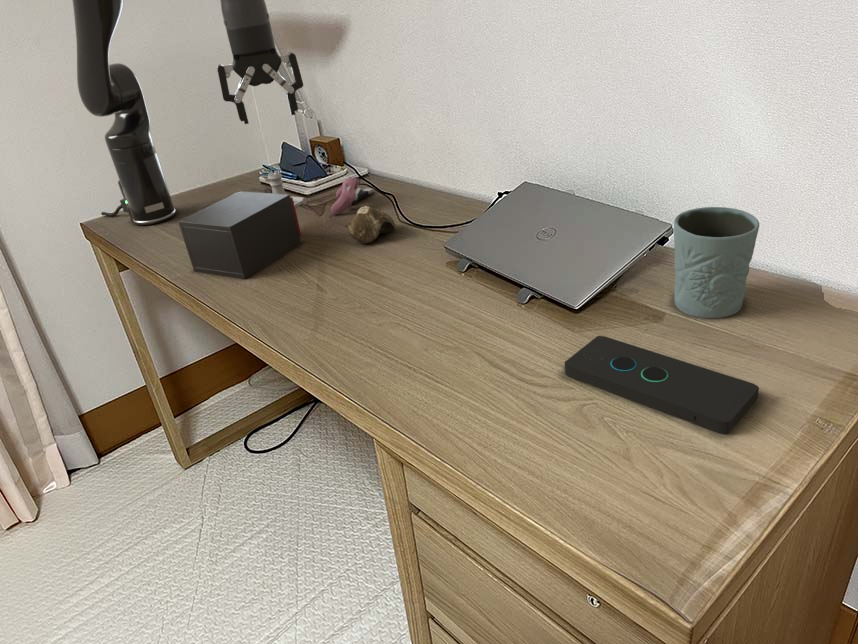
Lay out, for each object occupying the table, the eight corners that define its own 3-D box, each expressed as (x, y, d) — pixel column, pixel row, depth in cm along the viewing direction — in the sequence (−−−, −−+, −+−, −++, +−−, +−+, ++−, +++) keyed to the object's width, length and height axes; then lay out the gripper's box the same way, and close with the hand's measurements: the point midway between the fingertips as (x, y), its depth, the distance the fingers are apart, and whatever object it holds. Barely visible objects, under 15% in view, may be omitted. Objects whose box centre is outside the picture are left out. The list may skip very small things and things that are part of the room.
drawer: (277, 219, 143) (267, 183, 139) (321, 224, 138) (312, 186, 134) (204, 261, 128) (191, 221, 124) (250, 268, 122) (238, 226, 119)
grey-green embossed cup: (692, 280, 100) (697, 201, 94) (763, 298, 93) (773, 214, 87) (655, 309, 94) (658, 227, 88) (728, 330, 87) (737, 242, 81)
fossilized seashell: (381, 210, 135) (338, 234, 132) (381, 188, 130) (336, 212, 126) (404, 236, 133) (360, 260, 129) (405, 214, 127) (360, 239, 123)
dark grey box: (251, 237, 139) (239, 191, 134) (301, 243, 132) (289, 194, 128) (193, 271, 127) (177, 221, 122) (244, 279, 121) (230, 226, 116)
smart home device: (599, 332, 87) (761, 383, 74) (599, 344, 88) (760, 397, 75) (561, 363, 82) (727, 423, 69) (561, 375, 83) (726, 436, 70)
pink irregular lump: (350, 221, 144) (359, 191, 140) (329, 214, 143) (337, 184, 140) (355, 203, 152) (364, 174, 149) (335, 196, 152) (343, 167, 148)
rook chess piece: (295, 203, 154) (287, 168, 150) (286, 211, 150) (277, 175, 147) (278, 203, 156) (270, 169, 152) (268, 211, 152) (259, 175, 148)
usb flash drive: (350, 205, 148) (350, 201, 147) (332, 203, 150) (331, 199, 150) (374, 192, 154) (374, 187, 153) (356, 190, 156) (355, 186, 156)
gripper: (286, 15, 123) (305, 108, 130) (205, 28, 120) (229, 122, 128) (291, 17, 116) (311, 115, 124) (205, 31, 113) (231, 130, 121)
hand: (269, 118), depth 126 cm, fingers open, 8 cm apart
